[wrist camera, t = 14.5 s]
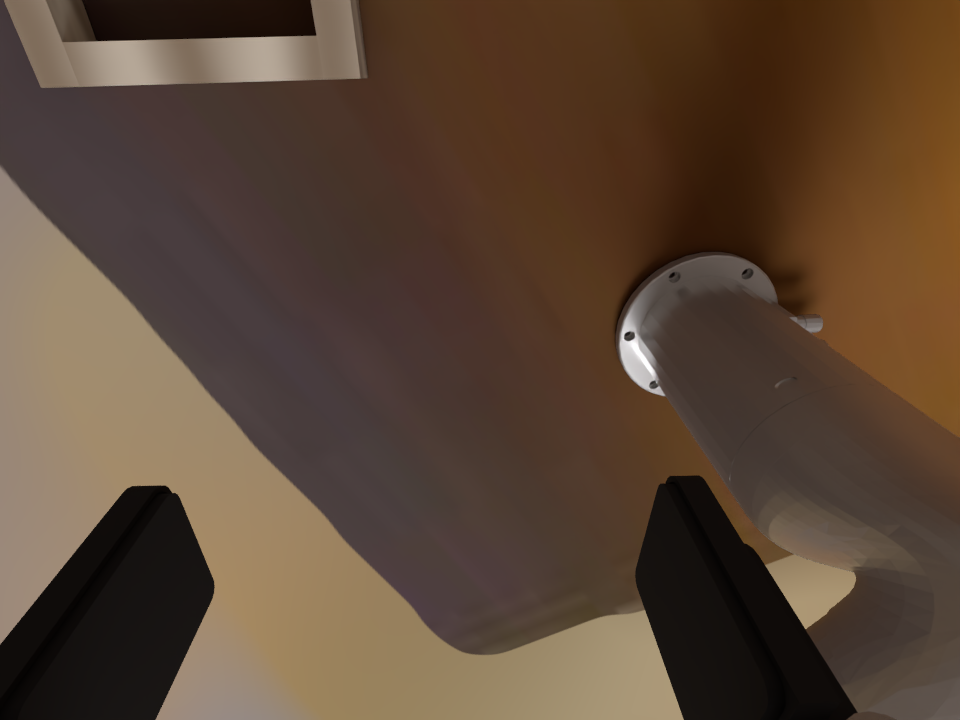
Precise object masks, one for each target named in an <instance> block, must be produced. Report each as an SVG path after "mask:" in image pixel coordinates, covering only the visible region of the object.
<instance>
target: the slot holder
mask: <svg viewBox="0 0 960 720" xmlns="http://www.w3.org/2000/svg"><path fill="white" fill-rule="evenodd" d="M4 2H5V4H6V6H7V9H8V11H9V14H10V16H11V18H12V21H13V23H14V25H15V28H16V30H17V32H18V35H19V37H20V39H21V42H22V44H23V46H24V49H25V51H26V53H27V56H28V58H29V60H30V63H31V65H32V67H33V70H34V72H35V74H36V77H37V79H38V81H39V84H40V86H41V88H55V87H89V86H123V85H156V84H190V83H224V82H258V81H292V80H326V79H360V78H368V73H367V65H366V57H365V49H364V40H363V32H362V24H361V16H360V8H359V0H311V5H312V11H313V17H314V23H315V29H316V35H317V36H286V37H248V38H210V39H171V40H133V41H96V38H95V35H94V32H93V29H92V27H91V24H90V21H89V18H88V16H87V13H86V10H85V7H84V4H83V2H82V0H4Z"/></svg>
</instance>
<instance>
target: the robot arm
mask: <svg viewBox="0 0 960 720" xmlns="http://www.w3.org/2000/svg"><path fill="white" fill-rule="evenodd" d="M671 273H672V275H670V274H671ZM822 326H823V320H822V318H821V316H820V315H817V314H808V315H799V316H794V315H793V314H791V313H790V312H788V311H787V310H786V309H784V308H783V307H781V306H780V305H778V298H777V295H776V292H775V288H774V285H773V284H772V282H771V281H770V279H769V277H768V276H767V275H766V274H765V273H764V272H763V271H762V270H761V269H760V268H759V267H758V266H756V265H755V264H753V263H751V262H750V261H748V260H747V259H745V258H742V257H739V256H737V255H734V254H730V253H724V252H701V253H697V254H692V255H688V256H685V257H682V258H680V259H677V260H675V261H672V262H670V263H668V264H667V265H665V266H663V267H662V268H660V269H658V270H657V271H655V272H654V273H653V274H652V275H650V276H649V277H648V278H647V279H646V280H644V281H643V282H642V283H641V284H640V285H639V287H638V288H637V289H636V290H635V291H634V292H633V294H632V295H631V296H630V298H629V300H628V301H627V303H626V304H625V306H624V308H623V310H622V313H621V315H620V318H619V320H618V324H617V330H616V350H617V354H618V358H619V360H620V362H621V364H622V366H623V368H624V370H625V371H626V372H627V374H628V375H629V377H630V378H631V379H632V380H633V381H634V382H635V383H636V384H637V385H639V386H640V387H641V388H643V389H645V390H647V391H648V392H651V393H654V394H657V395H661V396H666V397H667V399H668V400H669V402H670V403H671V405H672V406H673V408H674V409H675V411H676V412H677V414H678V415H679V417H680V418H681V419H682V421H683V422H684V424H685V425H686V427H687V428H688V430H689V431H690V433H691V434H692V436H693V437H694V439H695V440H696V442H697V443H698V445H699V446H700V448H701V449H702V451H703V452H704V454H705V455H706V456H707V458H708V459H709V461H710V462H711V464H712V465H713V467H714V468H715V470H716V471H717V473H718V474H719V476H720V477H721V479H722V480H723V482H724V483H725V485H726V486H727V488H728V489H729V491H730V492H731V493H732V495H733V496H734V498H735V499H736V501H737V502H738V503H739V505H740V506H741V508H742V509H743V511H744V512H745V514H746V515H747V516H748V518H749V519H750V520H751V521H752V523H753V524H754V525H755V526H756V527H757V528H758V529H759V530H760V531H761V532H762V533H763V534H764V535H765V536H766V537H767V538H769V539H770V540H771V541H773V542H774V543H775V544H777V545H778V546H780V547H781V548H783V549H785V550H787V551H789V552H791V553H793V554H795V555H798V556H800V557H803V558H806V559H809V560H812V561H814V562H818V563H821V564H824V565H828V566H832V567H835V568H840V569H843V570H847V571H851V572H854V573H855V575H856V582H855V586H854V588H853V589H852V590H851V592H850V593H849V594H848V595H847V596H846V597H844V598H843V599H842V600H841V601H840V602H839V603H837V604H836V605H835V606H834V607H832V608H831V609H830V610H829V612H828V613H827V614H826V615H825V616H823V617H822V618H821V619H819V620H818V621H817V622H815V623H814V624H812V625H811V626H810V627H808V628H807V629H806V630H805V628H804V626H803V625H802V623H801V622H800V620H799V619H798V617H797V615H796V614H795V612H794V611H793V609H792V608H791V606H790V604H789V603H788V601H787V600H786V598H785V596H784V595H783V593H782V592H781V590H780V589H779V587H778V585H777V584H776V582H775V581H774V579H773V577H772V576H771V574H770V573H769V571H768V569H767V568H766V566H765V565H764V563H763V562H762V560H761V558H760V557H759V555H758V554H757V553H756V552H755V550H754V549H753V548H752V547H750V546H749V545H747V544H744V543H743V542H742V540H741V538H740V537H739V535H738V533H737V532H736V530H735V529H734V527H733V525H732V524H731V522H730V520H729V519H728V517H727V516H726V514H725V512H724V511H723V509H722V507H721V506H720V504H719V503H718V501H717V499H716V498H715V496H714V494H713V493H712V491H711V490H710V488H709V486H708V485H707V483H706V481H705V480H704V479H703V478H702V477H701V476H670V477H669V478H668V479H667V481H666V484H660V485H659V487H658V489H657V493H656V497H655V500H654V504H653V508H652V511H651V515H650V519H649V522H648V526H647V530H646V534H645V537H644V541H643V545H642V548H641V552H640V556H639V559H638V563H637V567H636V575H635V576H636V584H637V588H638V591H639V594H640V597H641V599H642V602H643V605H644V608H645V611H646V614H647V616H648V619H649V622H650V625H651V628H652V631H653V633H654V636H655V639H656V642H657V645H658V648H659V650H660V653H661V656H662V659H663V662H664V665H665V667H666V670H667V673H668V676H669V679H670V682H671V684H672V687H673V690H674V693H675V696H676V699H677V701H678V704H679V707H680V710H681V713H682V715H683V718H684V720H960V438H959V437H958V436H956V435H955V434H953V433H952V432H950V431H949V430H947V429H946V428H944V427H943V426H941V425H940V424H938V423H937V422H936V421H934V420H933V419H931V418H930V417H928V416H927V415H926V414H924V413H923V412H921V411H920V410H919V409H917V408H916V407H914V406H913V405H912V404H910V403H909V402H907V401H906V400H904V399H903V398H902V397H900V396H899V395H897V394H896V393H894V392H893V391H891V390H890V389H888V388H887V387H886V386H884V385H883V384H881V383H880V382H879V381H877V380H876V379H874V378H873V377H872V376H870V375H869V374H867V373H866V372H865V371H863V370H862V369H860V368H859V367H858V366H856V365H855V364H853V363H852V362H851V361H849V360H848V359H846V358H845V357H844V356H842V355H841V354H839V353H838V352H837V351H835V350H834V349H832V348H831V347H830V346H828V344H827V343H826V341H825V340H822V339H819V338H817V337H816V336H814V335H813V334H812V332H818V331H820V330H821V328H822ZM213 594H214V580H213V577H212V575H211V573H210V570H209V568H208V565H207V563H206V561H205V558H204V556H203V553H202V551H201V548H200V546H199V544H198V541H197V539H196V536H195V534H194V532H193V529H192V527H191V524H190V522H189V520H188V517H187V515H186V512H185V510H184V507H183V505H182V503H181V500H180V498H179V496H178V495H177V494H176V493H172V492H171V491H170V489H169V488H168V487H166V486H132V487H130V488H127V489H126V490H125V491H124V492H123V493H122V495H121V496H120V497H119V498H118V500H117V501H116V502H115V503H114V505H113V506H112V507H111V508H110V509H109V511H108V512H107V513H106V514H105V516H104V517H103V518H102V519H101V521H100V522H99V523H98V524H97V526H96V527H95V528H94V529H93V531H92V532H91V533H90V534H89V535H88V537H87V538H86V539H85V540H84V542H83V543H82V544H81V545H80V547H79V548H78V549H77V550H76V552H75V553H74V554H73V555H72V557H71V558H70V559H69V560H68V562H67V563H66V564H65V565H64V566H63V568H62V569H61V570H60V571H59V573H58V574H57V576H55V578H54V579H53V580H52V581H51V583H50V584H49V585H48V586H47V587H46V589H45V590H44V591H43V592H42V594H41V595H40V596H39V597H38V599H37V600H36V601H35V602H34V604H33V605H32V606H31V607H30V609H29V610H28V611H27V612H26V614H25V615H24V616H23V617H22V618H21V620H20V621H19V622H18V623H17V625H16V626H15V627H14V628H13V630H12V631H11V632H10V633H9V635H8V636H7V637H6V638H5V640H4V641H3V642H2V643H1V645H0V720H155V719H156V717H157V715H158V713H159V711H160V709H161V707H162V705H163V702H164V700H165V698H166V696H167V694H168V691H169V690H170V688H171V685H172V683H173V681H174V679H175V677H176V675H177V673H178V671H179V669H180V666H181V664H182V662H183V660H184V658H185V656H186V654H187V651H188V649H189V647H190V645H191V643H192V641H193V639H194V637H195V635H196V632H197V630H198V628H199V626H200V624H201V622H202V619H203V617H204V615H205V613H206V611H207V609H208V607H209V605H210V603H211V600H212V598H213Z"/></svg>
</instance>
